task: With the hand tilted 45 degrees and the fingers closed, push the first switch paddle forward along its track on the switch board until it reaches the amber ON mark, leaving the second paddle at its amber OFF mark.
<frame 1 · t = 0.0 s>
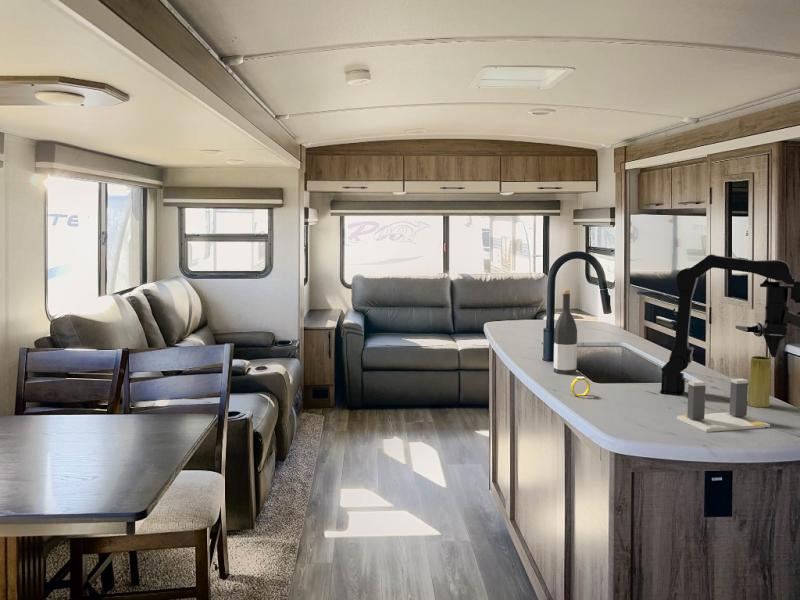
hand: (774, 354, 218), 15 cm above the table, tool pointing down, fingers open, 9 cm apart
switch board: (722, 422, 198), on the table
wine bottle: (564, 372, 265), on the table
vase: (758, 405, 217), on the table
switch 1: (738, 397, 201), point 6 cm above the table, slide at 0.0 cm
switch 2: (696, 400, 199), point 6 cm above the table, slide at 0.0 cm
yellow ring: (580, 396, 230), on the table
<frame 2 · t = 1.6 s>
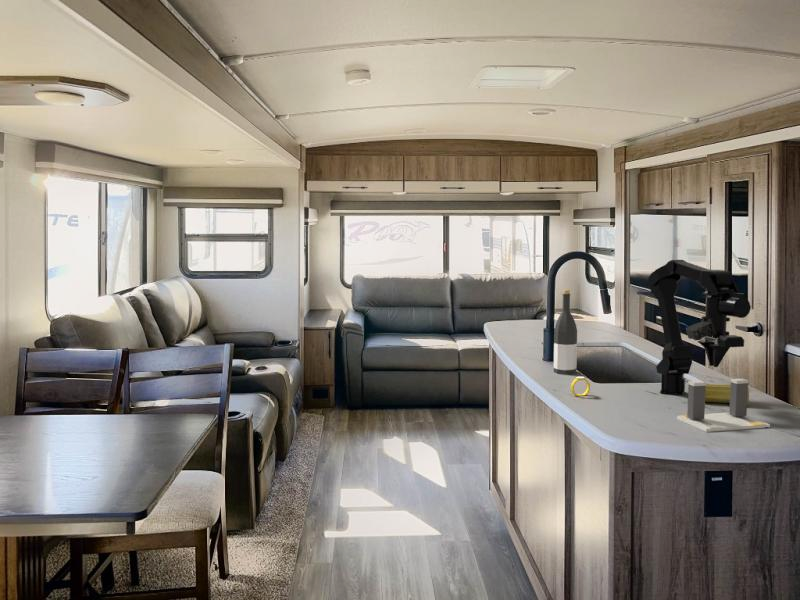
hand: (713, 366, 214), 12 cm above the table, tool pointing down, fingers closed
vase: (748, 394, 217), point 3 cm above the table
everything else where it was.
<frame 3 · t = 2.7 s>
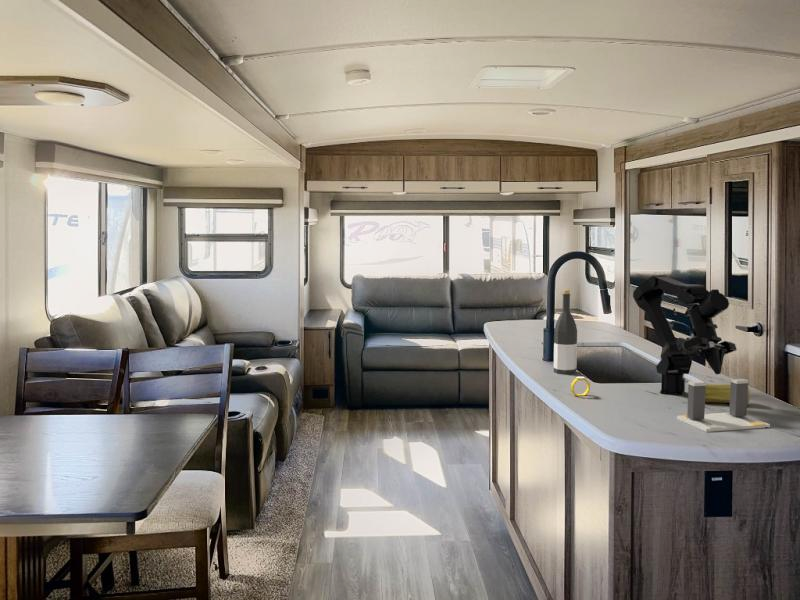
hand: (718, 373, 211), 11 cm above the table, tool tilted 30°, fingers closed
nothing on the table moved.
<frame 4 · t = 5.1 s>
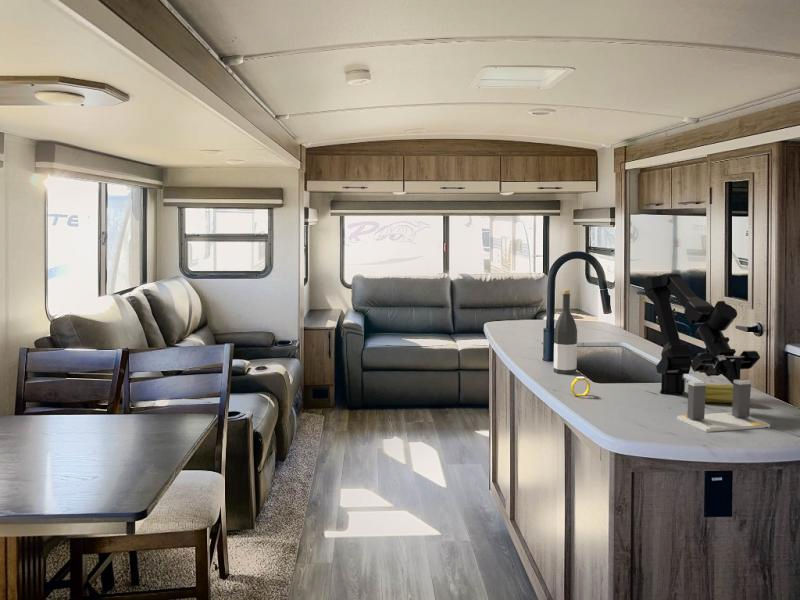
hand: (738, 386, 201), 9 cm above the table, tool tilted 45°, fingers closed, pressing on switch 1
switch 1: (741, 398, 200), point 6 cm above the table, slide at 1.1 cm, touching gripper
everything else where it was.
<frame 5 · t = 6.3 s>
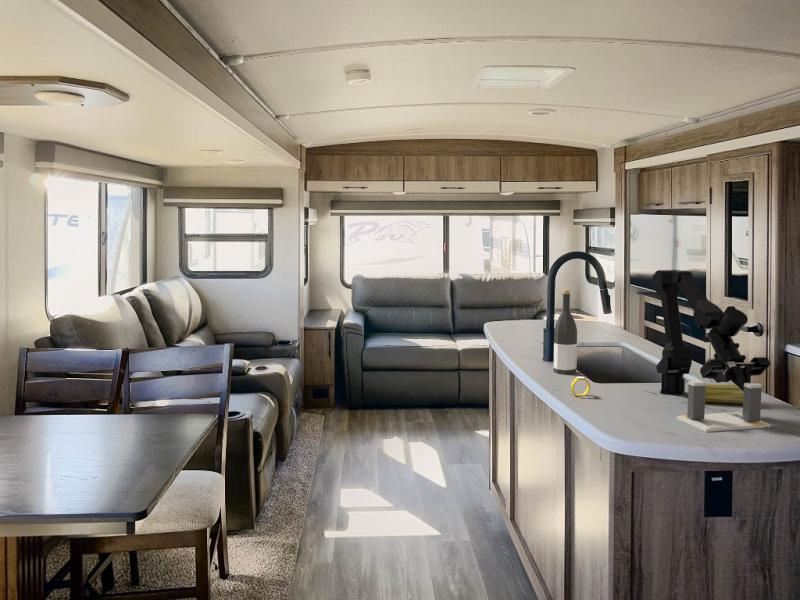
hand: (748, 393, 197), 8 cm above the table, tool tilted 45°, fingers closed, pressing on switch 1
switch 1: (752, 402, 196), point 6 cm above the table, slide at 5.5 cm, touching gripper
everything else where it was.
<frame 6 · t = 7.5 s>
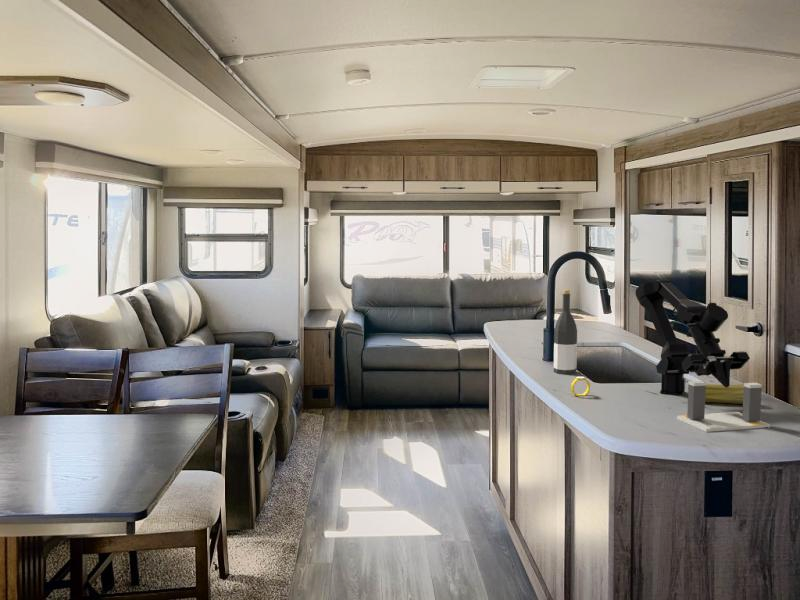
hand: (727, 386, 206), 8 cm above the table, tool tilted 45°, fingers closed
switch 1: (752, 402, 196), point 6 cm above the table, slide at 5.5 cm
everything else where it was.
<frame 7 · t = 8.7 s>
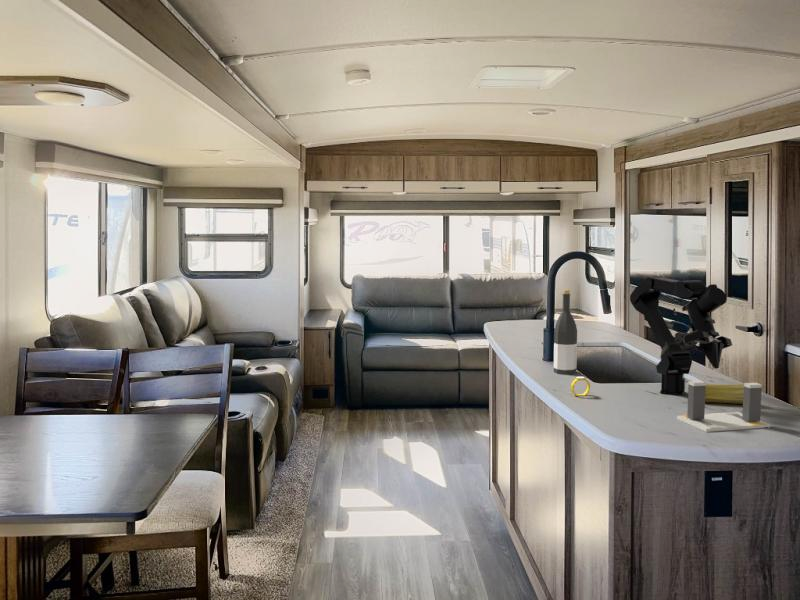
hand: (716, 368, 212), 12 cm above the table, tool tilted 30°, fingers closed
nothing on the table moved.
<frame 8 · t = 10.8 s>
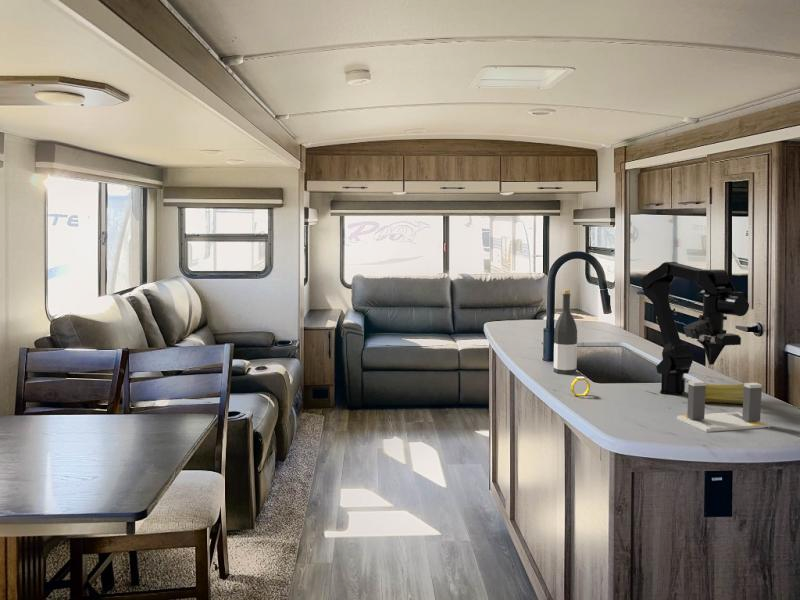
hand: (711, 364, 217), 12 cm above the table, tool pointing down, fingers closed
nothing on the table moved.
at the end: switch 1 slide at 5.5 cm; switch 2 slide at 0.0 cm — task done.
